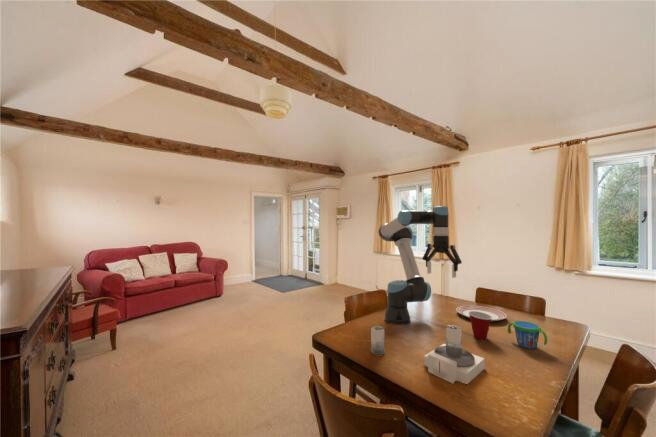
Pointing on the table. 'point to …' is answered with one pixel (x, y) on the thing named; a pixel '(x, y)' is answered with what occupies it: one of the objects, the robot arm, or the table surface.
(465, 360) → the scale pan
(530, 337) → the snack cup
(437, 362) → the scale
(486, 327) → the plastic cup
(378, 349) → the cylinder
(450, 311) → the table surface
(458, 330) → the silver metal cylinder
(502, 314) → the dinner plate
